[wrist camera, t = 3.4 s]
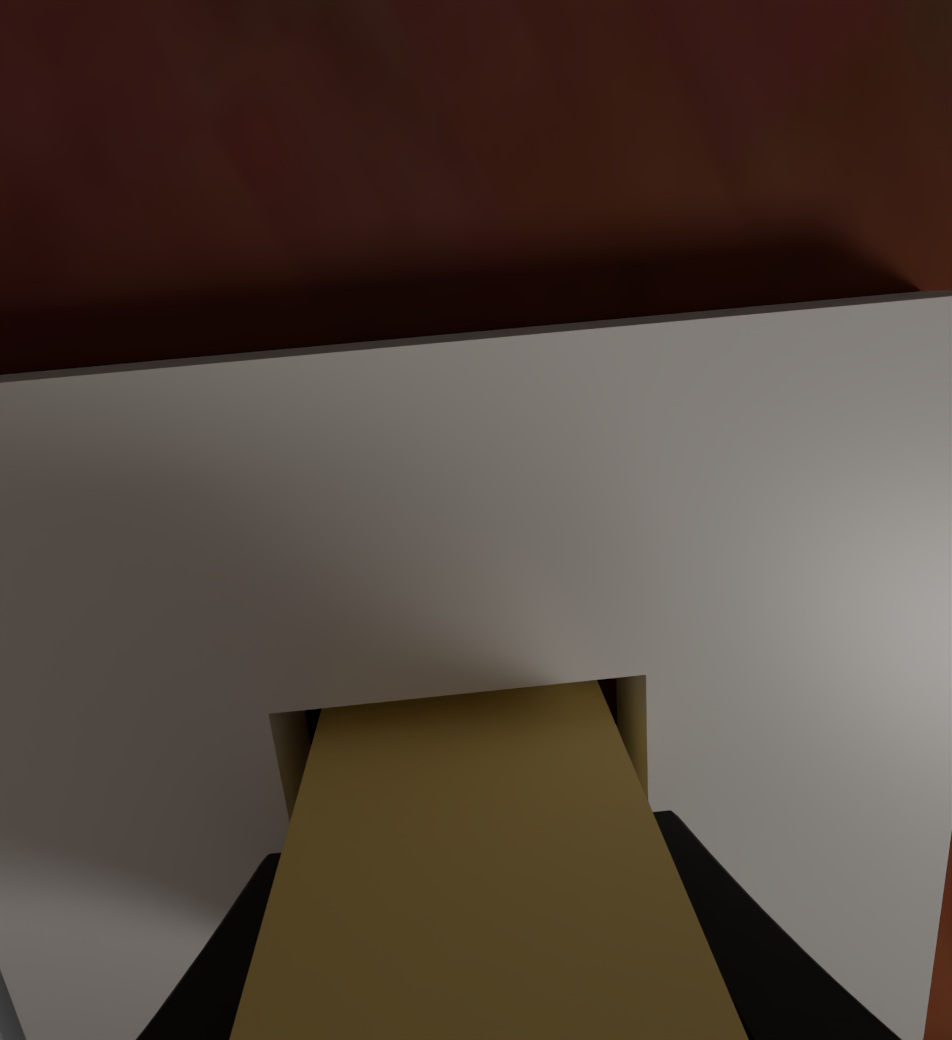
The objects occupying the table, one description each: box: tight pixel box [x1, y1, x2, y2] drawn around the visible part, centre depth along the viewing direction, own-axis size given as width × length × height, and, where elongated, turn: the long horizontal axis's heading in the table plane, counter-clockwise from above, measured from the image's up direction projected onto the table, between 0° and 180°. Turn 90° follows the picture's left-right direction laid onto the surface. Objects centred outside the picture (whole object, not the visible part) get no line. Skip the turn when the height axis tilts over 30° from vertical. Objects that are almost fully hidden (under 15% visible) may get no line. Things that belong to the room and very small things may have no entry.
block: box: [229, 680, 749, 1040], centre depth 9 cm, size 4×4×7 cm
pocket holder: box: [0, 291, 952, 1040], centre depth 11 cm, size 14×14×2 cm
